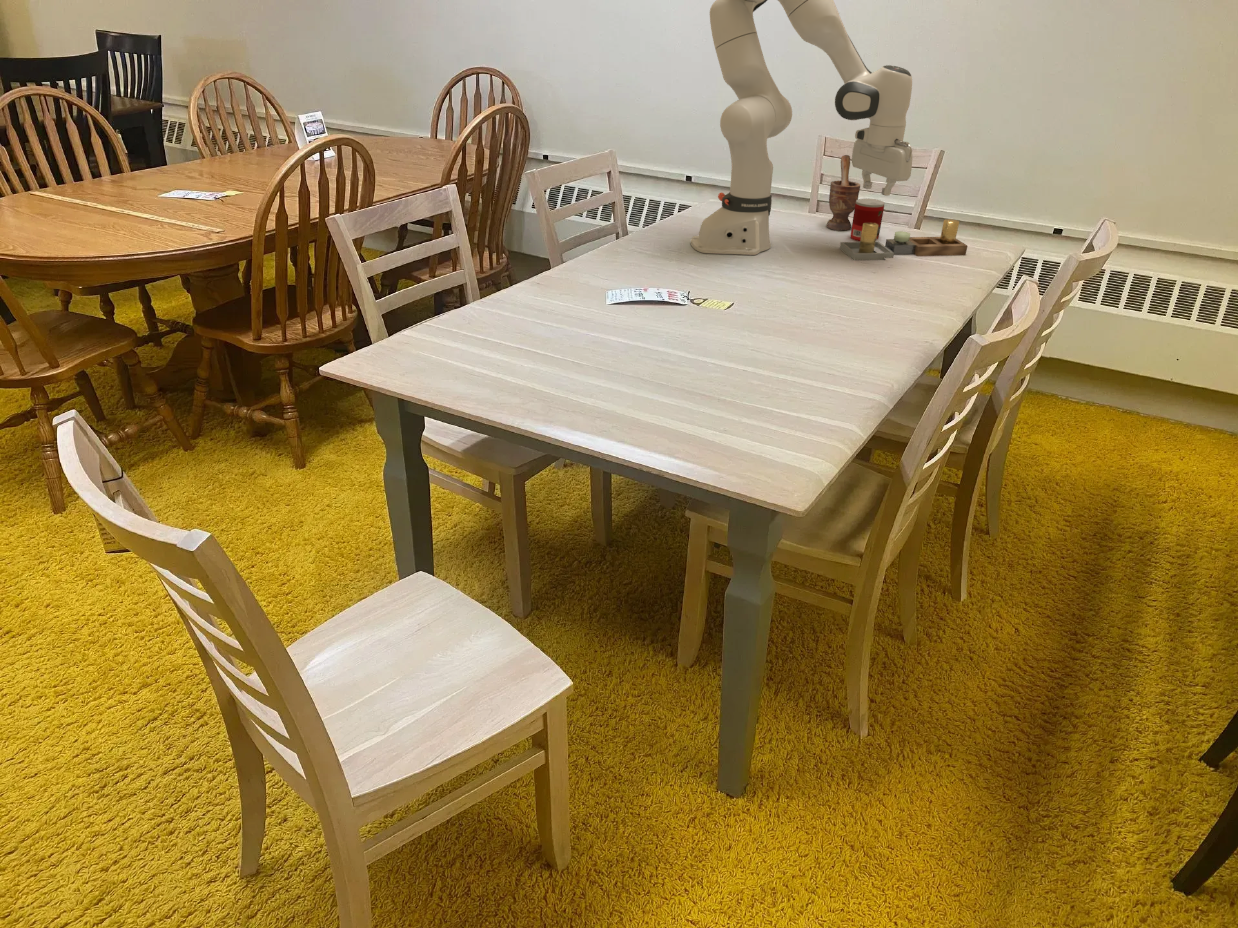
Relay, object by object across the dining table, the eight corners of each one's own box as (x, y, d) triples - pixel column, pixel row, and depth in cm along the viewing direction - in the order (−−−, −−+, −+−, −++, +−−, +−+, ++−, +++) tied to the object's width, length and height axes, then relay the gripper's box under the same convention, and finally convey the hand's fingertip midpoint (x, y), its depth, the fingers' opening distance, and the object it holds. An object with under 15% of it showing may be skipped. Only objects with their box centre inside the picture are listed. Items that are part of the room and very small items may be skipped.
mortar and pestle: (815, 222, 258) (824, 154, 247) (840, 220, 260) (850, 153, 249) (832, 232, 248) (842, 162, 238) (858, 230, 250) (870, 161, 240)
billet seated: (941, 252, 228) (947, 223, 224) (935, 248, 232) (941, 219, 228) (955, 252, 229) (962, 223, 225) (948, 248, 232) (955, 219, 228)
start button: (895, 253, 227) (898, 235, 225) (889, 248, 230) (892, 231, 228) (909, 252, 227) (912, 235, 225) (903, 248, 231) (906, 231, 228)
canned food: (878, 245, 238) (885, 205, 232) (850, 243, 239) (856, 204, 233) (877, 237, 244) (883, 199, 238) (849, 235, 245) (855, 197, 240)
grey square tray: (853, 262, 223) (854, 254, 222) (839, 250, 233) (840, 242, 232) (892, 261, 224) (894, 253, 223) (877, 249, 234) (878, 241, 233)
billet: (861, 256, 226) (866, 226, 222) (856, 251, 230) (860, 222, 226) (875, 255, 227) (880, 226, 223) (870, 251, 230) (875, 222, 226)
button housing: (892, 258, 227) (894, 245, 225) (884, 251, 232) (886, 239, 230) (913, 257, 227) (916, 245, 226) (904, 251, 232) (907, 239, 231)
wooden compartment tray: (915, 259, 226) (918, 246, 224) (902, 249, 234) (904, 237, 232) (964, 258, 227) (967, 245, 226) (949, 248, 235) (952, 236, 233)
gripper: (922, 143, 205) (911, 200, 213) (871, 129, 222) (862, 182, 229) (902, 144, 203) (891, 202, 211) (851, 130, 219) (843, 184, 227)
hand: (876, 191), depth 220 cm, fingers open, 6 cm apart
